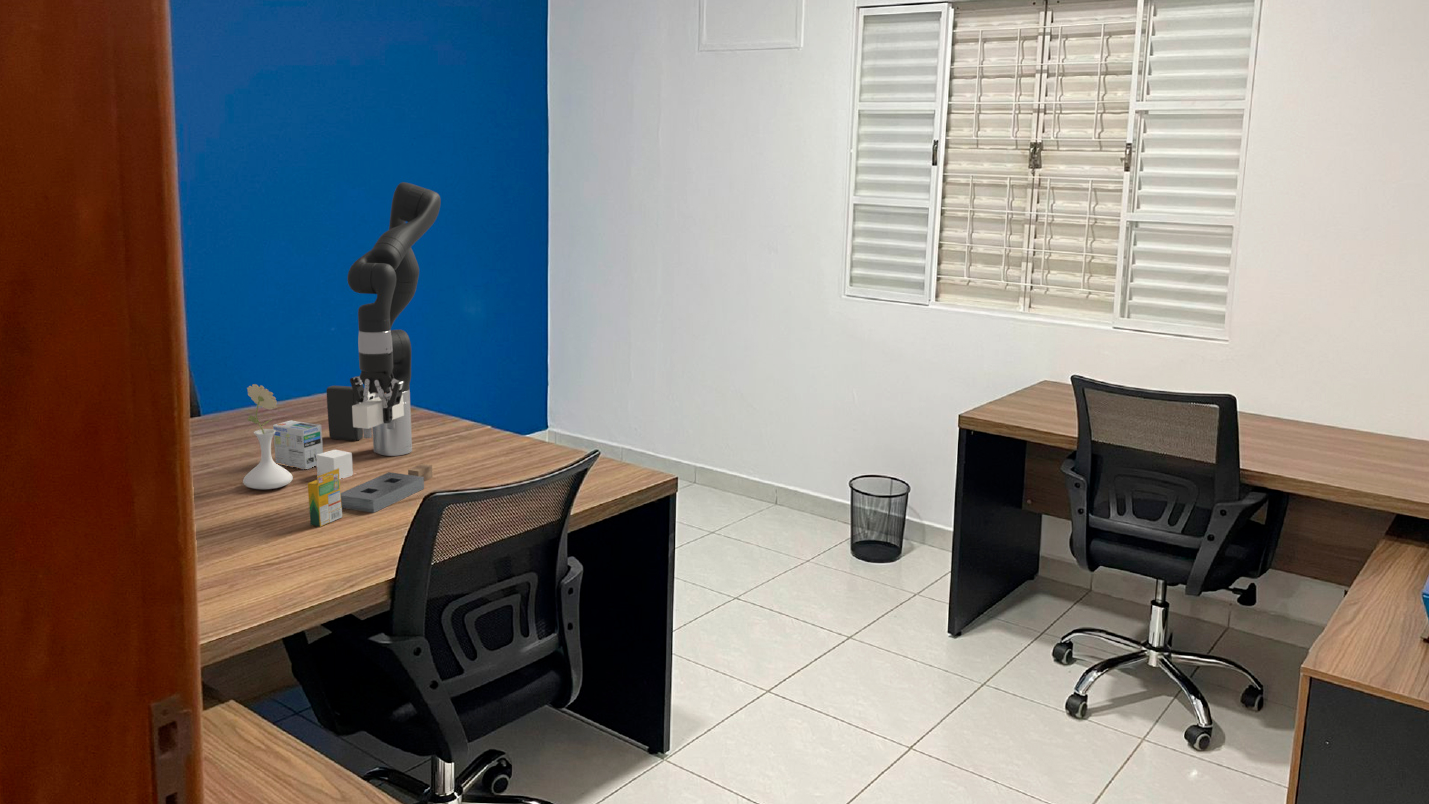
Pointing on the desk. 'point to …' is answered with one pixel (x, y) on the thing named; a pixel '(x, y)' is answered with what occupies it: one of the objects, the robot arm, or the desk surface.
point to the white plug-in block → (374, 415)
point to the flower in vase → (265, 447)
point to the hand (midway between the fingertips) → (379, 421)
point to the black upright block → (342, 413)
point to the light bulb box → (297, 443)
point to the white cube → (335, 463)
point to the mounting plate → (381, 492)
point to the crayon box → (325, 499)
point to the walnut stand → (421, 471)
